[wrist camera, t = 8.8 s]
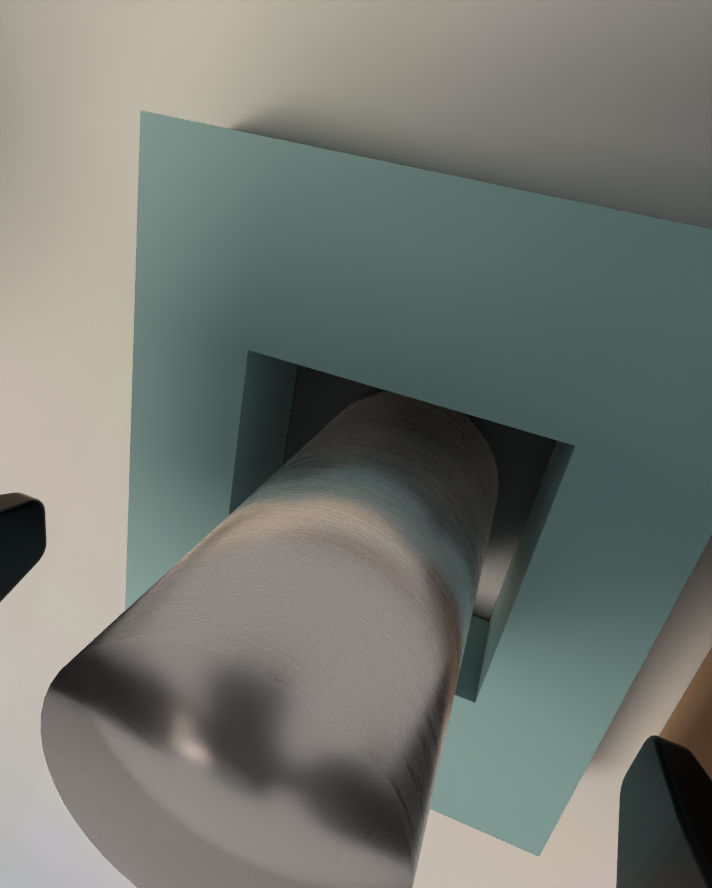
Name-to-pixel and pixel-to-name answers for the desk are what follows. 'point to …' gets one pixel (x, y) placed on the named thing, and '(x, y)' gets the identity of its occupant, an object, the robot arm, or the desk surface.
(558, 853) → the desk surface
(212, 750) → the steel peg
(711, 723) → the socket block
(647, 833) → the robot arm
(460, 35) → the desk surface
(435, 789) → the block
